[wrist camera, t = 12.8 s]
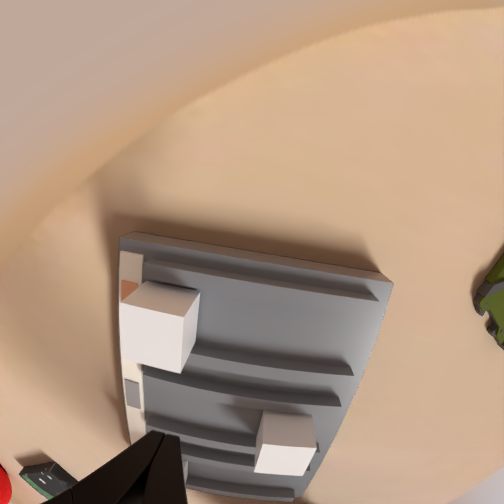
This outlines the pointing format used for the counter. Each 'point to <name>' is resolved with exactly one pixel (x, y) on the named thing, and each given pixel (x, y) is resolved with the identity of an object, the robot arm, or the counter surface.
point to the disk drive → (48, 478)
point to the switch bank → (250, 355)
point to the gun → (493, 301)
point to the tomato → (5, 488)
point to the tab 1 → (159, 325)
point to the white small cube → (284, 443)
